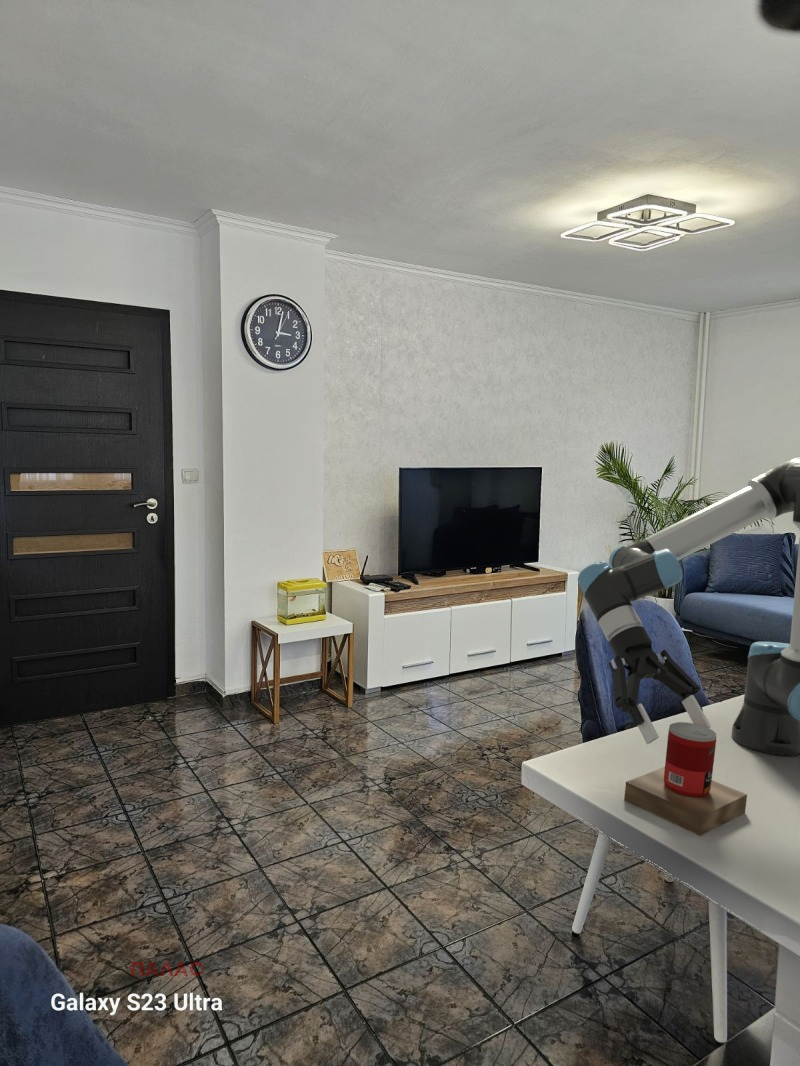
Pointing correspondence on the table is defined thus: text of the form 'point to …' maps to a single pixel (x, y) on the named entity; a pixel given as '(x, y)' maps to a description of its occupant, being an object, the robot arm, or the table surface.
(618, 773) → the table surface
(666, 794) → the walnut stand
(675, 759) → the canned food
